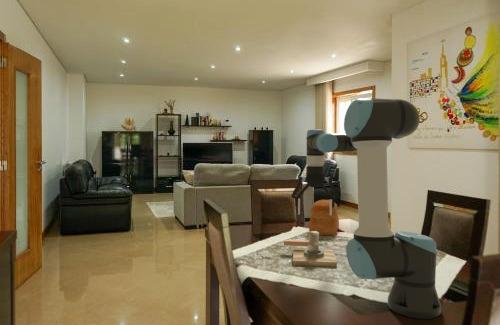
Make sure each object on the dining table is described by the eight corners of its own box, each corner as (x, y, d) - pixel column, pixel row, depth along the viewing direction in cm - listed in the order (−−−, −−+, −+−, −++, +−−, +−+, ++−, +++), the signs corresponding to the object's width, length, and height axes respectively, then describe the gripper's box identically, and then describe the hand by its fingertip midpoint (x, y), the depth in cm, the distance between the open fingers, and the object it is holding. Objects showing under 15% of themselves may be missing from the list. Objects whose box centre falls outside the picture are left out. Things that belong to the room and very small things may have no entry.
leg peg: (318, 253, 168) (318, 231, 168) (318, 256, 164) (319, 233, 163) (308, 253, 169) (308, 230, 168) (308, 256, 164) (308, 233, 164)
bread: (339, 226, 232) (339, 198, 231) (336, 236, 207) (337, 205, 206) (313, 224, 236) (313, 197, 235) (307, 234, 211) (308, 203, 210)
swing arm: (317, 244, 176) (317, 238, 176) (318, 247, 172) (318, 241, 172) (283, 243, 177) (283, 237, 177) (283, 245, 173) (283, 240, 173)
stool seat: (336, 267, 156) (336, 258, 156) (292, 265, 159) (292, 256, 158) (333, 254, 174) (333, 246, 174) (293, 252, 176) (293, 244, 176)
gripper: (343, 165, 166) (343, 213, 167) (286, 164, 169) (286, 212, 170) (345, 166, 159) (345, 216, 160) (285, 165, 162) (285, 215, 163)
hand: (314, 214), depth 165 cm, fingers open, 13 cm apart
